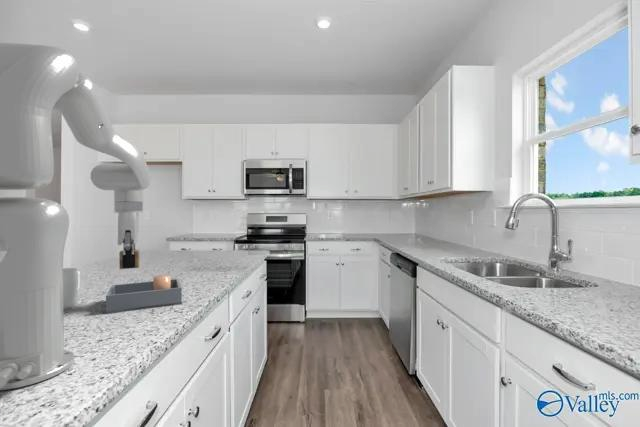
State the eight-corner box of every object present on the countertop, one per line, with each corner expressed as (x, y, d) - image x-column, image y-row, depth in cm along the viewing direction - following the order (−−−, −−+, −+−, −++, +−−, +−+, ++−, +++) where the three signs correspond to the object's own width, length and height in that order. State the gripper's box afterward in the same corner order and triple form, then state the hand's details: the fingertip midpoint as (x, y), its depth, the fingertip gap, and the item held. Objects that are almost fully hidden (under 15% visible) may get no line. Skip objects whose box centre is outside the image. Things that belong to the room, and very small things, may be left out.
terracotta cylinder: (153, 301, 98) (153, 279, 98) (153, 297, 103) (153, 276, 103) (171, 299, 101) (170, 277, 101) (170, 295, 105) (170, 274, 105)
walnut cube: (119, 269, 94) (119, 252, 94) (121, 266, 99) (121, 250, 98) (138, 267, 96) (138, 251, 96) (139, 265, 101) (139, 249, 101)
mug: (62, 311, 90) (61, 273, 90) (31, 312, 90) (30, 273, 90) (92, 299, 102) (91, 265, 102) (64, 300, 102) (64, 266, 102)
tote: (178, 292, 111) (178, 278, 111) (181, 303, 98) (181, 287, 98) (112, 300, 101) (112, 285, 101) (106, 313, 89) (105, 296, 88)
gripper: (117, 207, 103) (118, 262, 103) (110, 208, 88) (112, 272, 88) (143, 207, 106) (144, 261, 107) (141, 207, 91) (142, 270, 92)
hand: (129, 265), depth 98 cm, fingers closed on walnut cube, 5 cm apart
